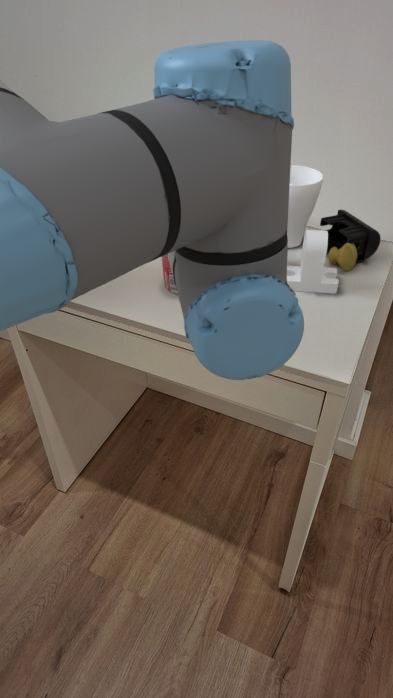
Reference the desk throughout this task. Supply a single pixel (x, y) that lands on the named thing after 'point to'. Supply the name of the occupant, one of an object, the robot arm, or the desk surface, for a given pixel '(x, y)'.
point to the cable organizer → (313, 266)
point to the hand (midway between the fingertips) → (178, 178)
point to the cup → (301, 200)
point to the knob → (343, 256)
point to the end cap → (351, 234)
